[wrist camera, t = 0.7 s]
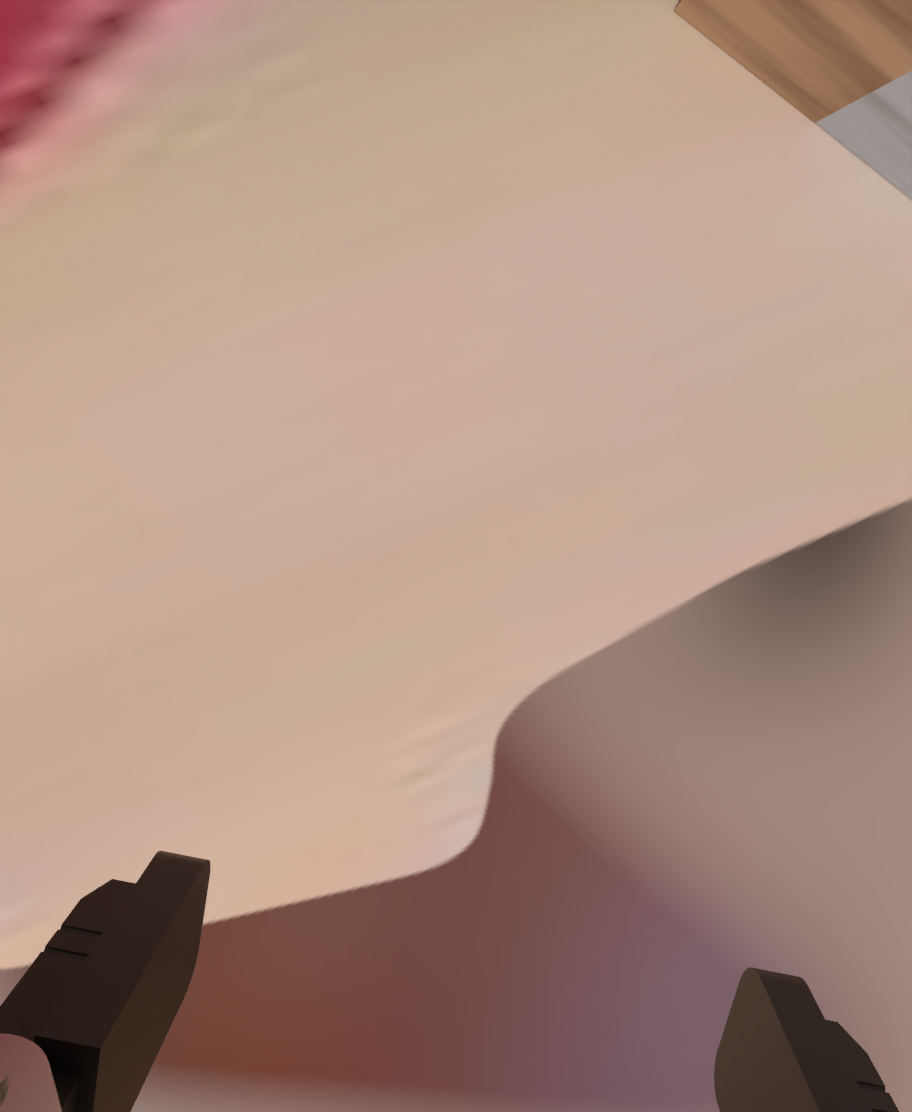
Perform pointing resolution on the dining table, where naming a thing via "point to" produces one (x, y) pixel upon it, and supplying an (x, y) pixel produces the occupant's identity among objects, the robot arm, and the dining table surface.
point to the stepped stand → (828, 67)
